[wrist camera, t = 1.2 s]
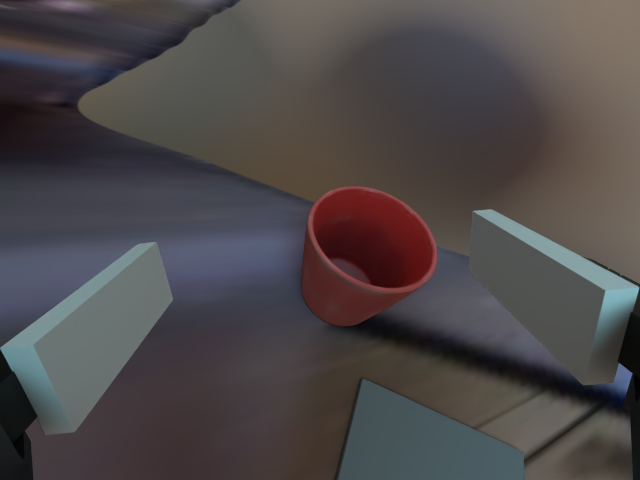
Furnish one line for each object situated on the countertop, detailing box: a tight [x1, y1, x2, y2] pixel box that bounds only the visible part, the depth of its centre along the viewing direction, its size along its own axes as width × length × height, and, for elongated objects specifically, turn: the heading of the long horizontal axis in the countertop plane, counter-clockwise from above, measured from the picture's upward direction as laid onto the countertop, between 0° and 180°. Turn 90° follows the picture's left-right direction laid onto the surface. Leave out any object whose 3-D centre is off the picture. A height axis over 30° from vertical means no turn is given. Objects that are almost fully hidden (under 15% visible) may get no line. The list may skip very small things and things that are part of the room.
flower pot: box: [301, 186, 438, 326], centre depth 30 cm, size 11×11×10 cm
